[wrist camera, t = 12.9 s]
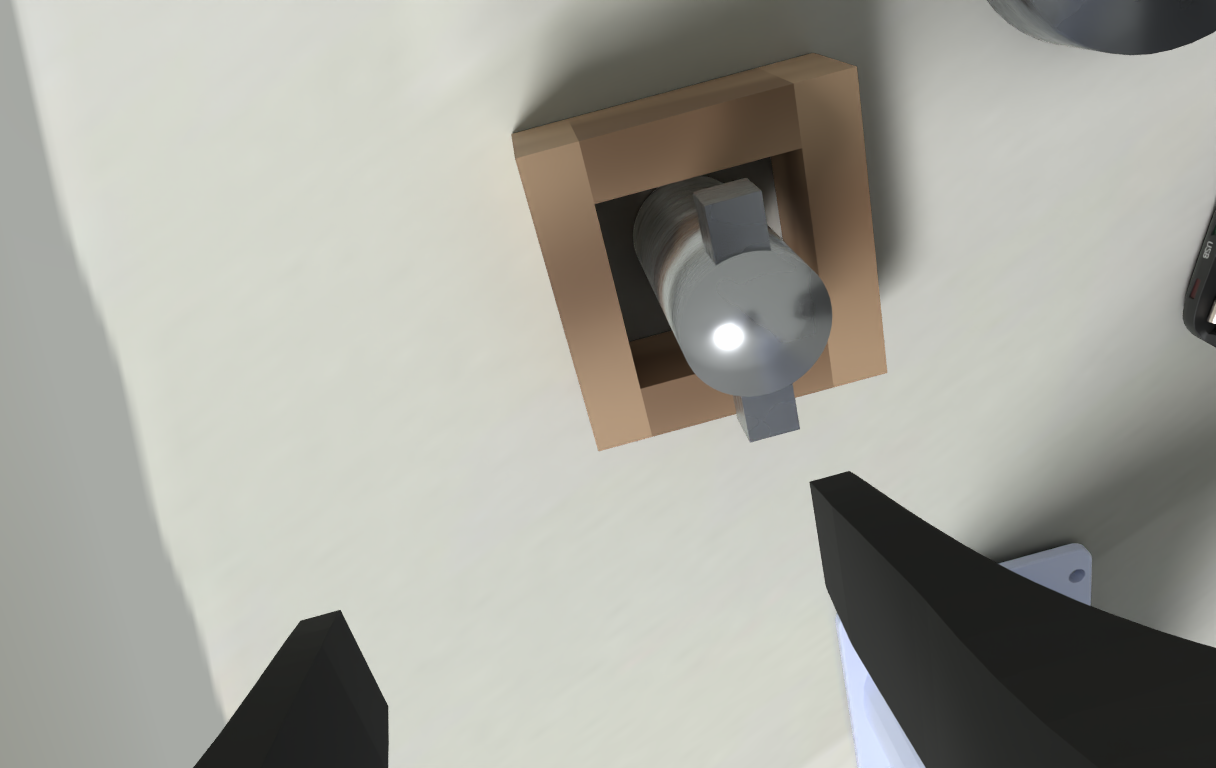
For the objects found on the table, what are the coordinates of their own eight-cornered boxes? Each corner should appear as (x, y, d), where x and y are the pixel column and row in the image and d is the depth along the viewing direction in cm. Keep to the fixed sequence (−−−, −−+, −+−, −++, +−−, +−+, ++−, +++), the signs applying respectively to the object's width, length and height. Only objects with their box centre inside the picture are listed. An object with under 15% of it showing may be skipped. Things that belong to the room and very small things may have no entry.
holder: (846, 329, 23) (887, 372, 21) (587, 400, 23) (598, 451, 21) (813, 52, 20) (857, 66, 17) (511, 133, 20) (515, 158, 17)
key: (762, 308, 22) (846, 419, 17) (655, 337, 22) (706, 457, 17) (729, 119, 20) (814, 178, 15) (611, 150, 20) (653, 221, 15)
